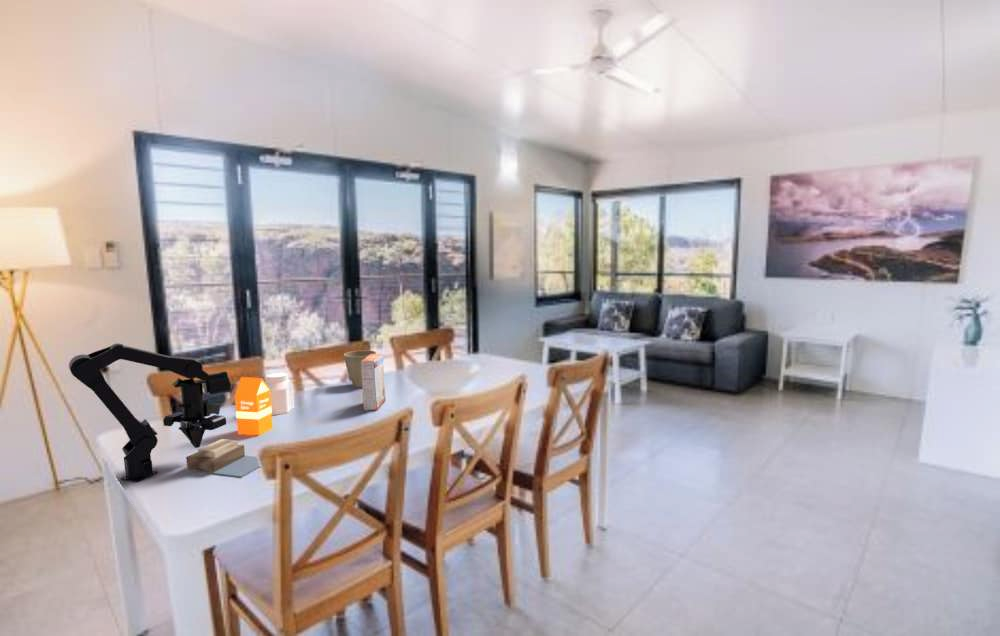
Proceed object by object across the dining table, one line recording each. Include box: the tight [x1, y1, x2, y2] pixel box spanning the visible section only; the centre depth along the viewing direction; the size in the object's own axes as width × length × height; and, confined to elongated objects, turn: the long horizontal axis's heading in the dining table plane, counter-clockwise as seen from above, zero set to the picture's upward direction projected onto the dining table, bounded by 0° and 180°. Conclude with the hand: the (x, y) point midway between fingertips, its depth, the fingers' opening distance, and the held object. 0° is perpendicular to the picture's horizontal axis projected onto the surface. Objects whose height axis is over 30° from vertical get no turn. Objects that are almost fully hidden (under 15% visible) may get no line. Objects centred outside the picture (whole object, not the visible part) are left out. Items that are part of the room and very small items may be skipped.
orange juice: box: [234, 376, 273, 436], centre depth 184 cm, size 8×9×20 cm
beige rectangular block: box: [197, 438, 239, 458], centre depth 156 cm, size 6×9×2 cm, turn 165°
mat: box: [212, 455, 261, 478], centre depth 155 cm, size 10×13×1 cm
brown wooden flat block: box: [185, 444, 246, 474], centre depth 157 cm, size 10×12×4 cm
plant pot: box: [343, 349, 377, 389], centre depth 246 cm, size 15×15×16 cm
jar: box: [265, 372, 295, 416], centre depth 209 cm, size 12×10×15 cm
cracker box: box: [361, 353, 386, 411], centre depth 213 cm, size 14×6×21 cm, turn 178°
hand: (197, 447), depth 158 cm, fingers closed
